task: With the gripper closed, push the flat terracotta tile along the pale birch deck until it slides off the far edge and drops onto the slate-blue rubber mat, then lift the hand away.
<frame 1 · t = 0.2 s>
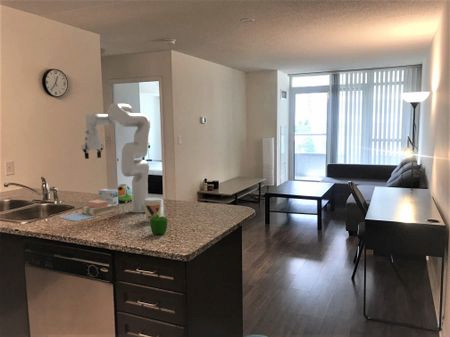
hand: (93, 158, 262), 31 cm above the counter, tool pointing down, fingers open, 9 cm apart
bell pepper: (159, 234, 187), on the counter
tile: (97, 206, 234), point 4 cm above the counter, touching deck
mat: (76, 217, 223), on the counter
deck: (98, 212, 235), on the counter
turtle holder: (123, 201, 273), on the counter
light bulb box: (108, 205, 257), on the counter
coffee cup: (153, 220, 215), on the counter
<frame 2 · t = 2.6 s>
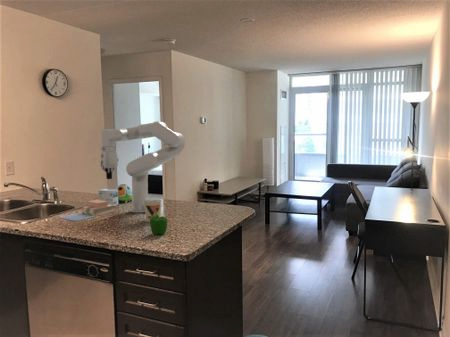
hand: (109, 178, 241), 20 cm above the counter, tool pointing down, fingers closed
nothing on the counter moved.
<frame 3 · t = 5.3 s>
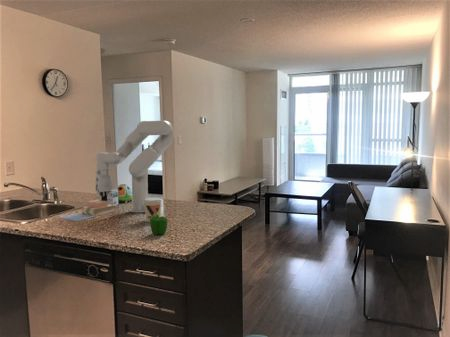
hand: (104, 202, 238), 6 cm above the counter, tool pointing down, fingers closed
tile: (97, 206, 234), point 4 cm above the counter, touching deck, gripper
everything else where it was.
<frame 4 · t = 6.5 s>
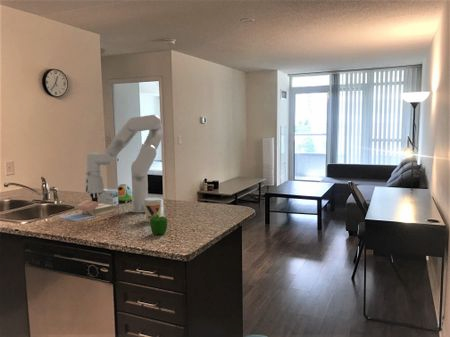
hand: (94, 204, 233), 6 cm above the counter, tool pointing down, fingers closed
tile: (88, 208, 229), point 4 cm above the counter, tilted 18°, touching deck
everything else where it was.
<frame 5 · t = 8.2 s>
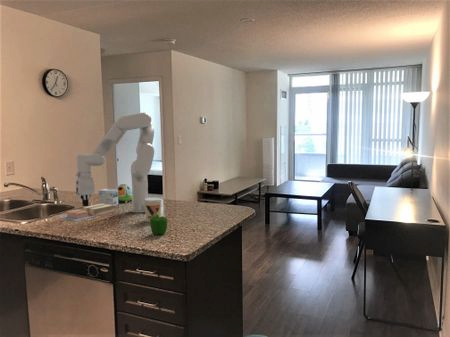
hand: (85, 206, 227), 6 cm above the counter, tool pointing down, fingers closed
tile: (77, 211, 223), point 3 cm above the counter, tilted 180°, touching mat
everything else where it was.
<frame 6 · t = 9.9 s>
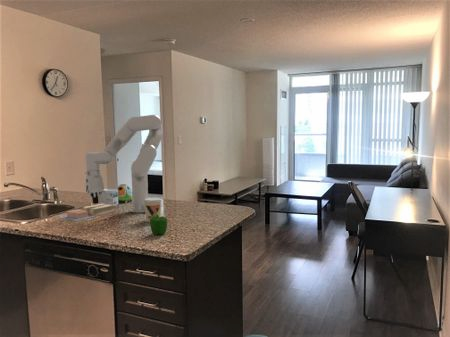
hand: (95, 203, 232), 6 cm above the counter, tool pointing down, fingers closed
nothing on the counter moved.
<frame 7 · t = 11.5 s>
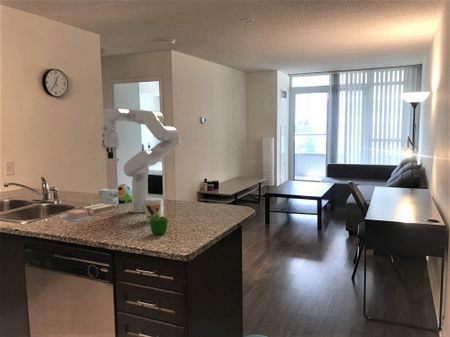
hand: (110, 158, 244), 32 cm above the counter, tool pointing down, fingers closed
nothing on the counter moved.
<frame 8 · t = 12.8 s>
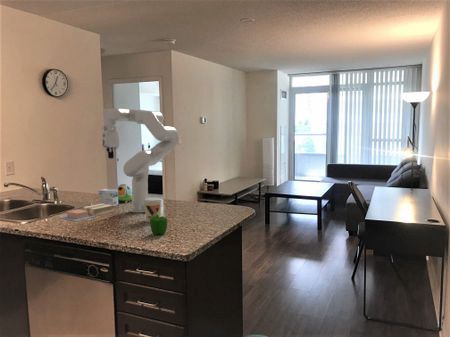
hand: (111, 158, 244), 32 cm above the counter, tool pointing down, fingers closed
nothing on the counter moved.
at the end: tile inside the target area (1.0 cm from its centre), point 3.3 cm above the counter; tile moved 13.8 cm from its start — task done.
